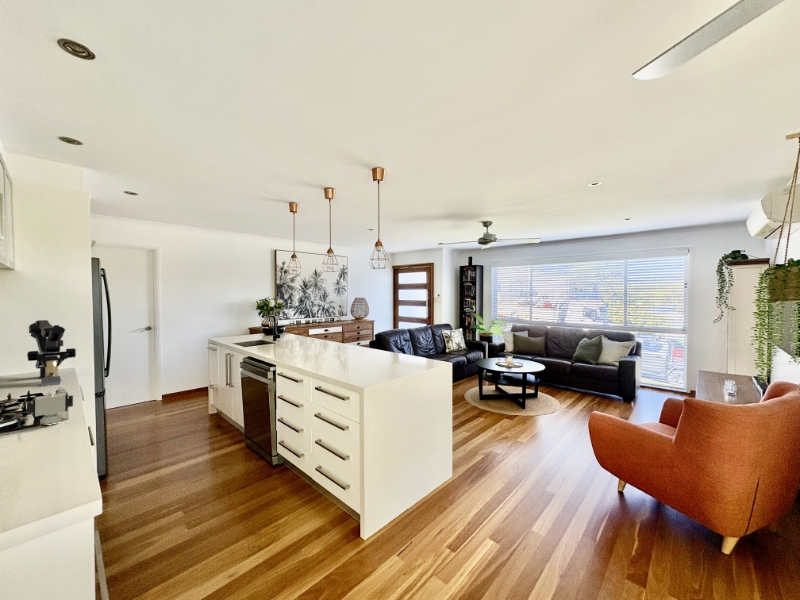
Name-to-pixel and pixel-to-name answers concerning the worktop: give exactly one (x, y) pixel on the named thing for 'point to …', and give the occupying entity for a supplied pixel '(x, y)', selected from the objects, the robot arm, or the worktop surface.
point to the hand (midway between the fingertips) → (51, 366)
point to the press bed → (50, 381)
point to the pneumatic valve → (50, 407)
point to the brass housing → (51, 368)
